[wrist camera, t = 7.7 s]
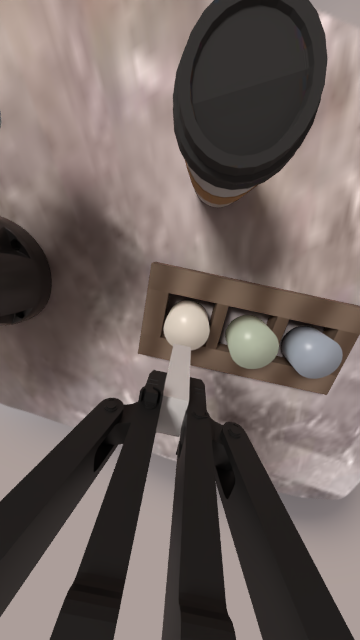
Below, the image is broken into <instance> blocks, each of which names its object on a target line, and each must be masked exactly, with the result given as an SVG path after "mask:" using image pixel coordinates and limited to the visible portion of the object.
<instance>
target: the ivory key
mask: <svg viewBox="0 0 360 640" xmlns="http://www.w3.org/2000/svg"><path fill="white" fill-rule="evenodd" d="M209 332H210V328H209V321H208V316H207V312H206V310H205V309H204V307H203V306H202V305H200V304H199V303H197V302H195V301H192V300H184V301H180V302H178V303H176V304H175V305H174V306H173V307H172V308H171V310H170V312H169V314H168V316H167V319H166V321H165V324H164V335H165V337H166V339H167V341H168V342H169V343H170V344H171V345H172V346H173V344H179V345H184V346H188V347H191V351H192V350H195V349H198V348H199V347H201V346H202V345H203V344H204V343H205V342H206V341H207V339H208V336H209Z"/></svg>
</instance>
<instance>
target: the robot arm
mask: <svg viewBox="0 0 360 640" xmlns="http://www.w3.org/2000/svg"><path fill="white" fill-rule="evenodd" d="M0 127H1V113H0ZM50 292H51V274H50V269H49V265H48V262H47V260H46V258H45V255H44V254H43V252H42V250H41V248H40V247H39V245H38V244H37V243H36V241H35V240H34V239H33V238H32V237H31V236H30V235H29V234H28V233H27V232H26V231H25V230H24V229H23V228H21V227H20V226H19V225H17V224H16V223H14V222H12V221H10V220H8V219H6V218H3V217H0V326H1V325H12V324H16V323H19V322H22V321H24V320H27V319H29V318H32V317H34V316H35V315H37V314H38V313H39V312H40V311H41V310H42V309H43V308H44V307H45V305H46V303H47V301H48V299H49V296H50ZM190 359H191V347H188V346H184V345H179V344H173V349H172V354H171V358H170V363H169V368H168V372H167V373H165V372H160V371H156V370H154V371H152V372H151V373H150V374H149V377H148V380H147V383H146V386H144V387H143V388H142V389H141V390H140V395H139V401H138V402H136V403H134V404H129V405H123V403H122V401H120V400H119V399H116V398H108V399H105V400H103V401H102V402H100V403H99V404H98V405H97V406H96V407H95V408H94V409H93V410H92V411H91V412H90V413H89V414H88V415H87V416H86V417H85V418H84V419H83V420H82V421H81V422H80V423H79V424H78V425H77V426H76V427H75V428H74V429H73V430H72V431H71V432H70V433H69V434H68V435H67V436H66V437H65V438H64V439H63V440H62V441H61V442H60V443H59V444H58V445H57V446H56V447H55V448H54V449H53V450H52V451H51V452H50V453H49V454H48V455H47V456H46V457H45V458H44V459H43V460H42V461H41V462H40V463H39V464H38V465H37V466H36V467H35V468H34V469H33V470H32V471H31V472H30V473H29V474H28V475H27V476H26V477H25V478H24V479H23V480H21V481H20V482H19V484H17V485H16V487H14V489H12V490H11V491H10V492H9V493H8V494H7V495H6V496H5V497H4V498H3V499H2V500H1V501H0V617H1V615H2V614H3V612H4V611H5V609H6V608H7V606H8V605H9V604H10V602H11V601H12V599H13V598H14V596H15V595H16V593H17V592H18V590H19V589H20V587H21V586H22V584H23V583H24V582H25V580H26V579H27V577H28V576H29V574H30V573H31V571H32V570H33V568H34V567H35V566H36V564H37V563H38V561H39V560H40V558H41V557H42V555H43V554H44V552H45V551H46V550H47V548H48V547H49V545H50V544H51V542H52V541H53V539H54V538H55V536H56V535H57V533H58V532H59V531H60V529H61V527H62V526H63V525H64V523H65V522H66V520H67V519H68V517H69V516H70V515H71V513H72V512H73V510H74V509H75V507H76V506H77V504H78V503H79V501H80V500H81V499H82V497H83V496H84V494H85V493H86V491H87V490H88V488H89V487H90V485H91V484H92V482H93V481H94V479H95V478H96V477H97V475H98V474H99V472H100V471H101V469H102V468H103V466H104V465H105V463H106V462H107V461H108V459H109V457H110V456H111V455H112V453H113V452H114V450H115V449H116V447H117V446H118V444H123V446H122V449H121V452H120V455H119V458H118V460H117V463H116V466H115V469H114V472H113V474H112V477H111V480H110V483H109V486H108V489H107V491H106V494H105V497H104V500H103V503H102V505H101V508H100V511H99V514H98V517H97V519H96V522H95V525H94V528H93V531H92V533H91V536H90V539H89V542H88V545H87V547H86V550H85V553H84V556H83V559H82V562H81V564H80V567H79V570H78V572H77V575H76V578H75V580H74V582H73V584H72V586H71V587H70V589H69V591H68V593H67V596H66V598H65V600H64V603H63V605H62V608H61V610H60V613H59V616H58V618H57V621H56V624H55V626H54V630H53V632H52V635H51V637H50V640H113V639H114V634H115V628H116V624H117V619H118V614H119V609H120V604H121V599H122V594H123V589H124V584H125V579H126V574H127V570H128V565H129V560H130V555H131V550H132V545H133V540H134V536H135V531H136V526H137V521H138V516H139V511H140V506H141V501H142V496H143V491H144V486H145V482H146V477H147V472H148V467H149V462H150V458H151V453H152V448H153V443H154V438H155V433H156V432H158V433H163V434H167V435H172V436H177V437H179V436H180V441H179V444H178V448H177V452H176V455H177V466H176V478H175V490H174V501H173V513H172V525H171V537H170V549H169V560H168V573H167V584H166V595H165V608H164V620H163V631H162V640H236V636H235V631H234V627H233V623H232V621H231V619H230V617H229V615H228V612H227V609H226V599H225V588H224V576H223V564H222V553H221V541H220V529H219V518H218V507H217V495H216V484H217V488H218V491H219V494H220V498H221V501H222V504H223V508H224V511H225V514H226V518H227V521H228V524H229V528H230V531H231V535H232V538H233V541H234V545H235V548H236V551H237V554H238V558H239V561H240V565H241V568H242V571H243V575H244V578H245V581H246V585H247V588H248V592H249V595H250V598H251V601H252V604H253V608H254V612H255V615H256V618H257V622H258V625H259V628H260V632H261V635H262V638H263V640H354V638H353V636H352V634H351V632H350V630H349V628H348V627H347V625H346V623H345V621H344V619H343V617H342V615H341V613H340V611H339V610H338V607H337V606H336V604H335V602H334V600H333V598H332V596H331V594H330V592H329V591H328V588H327V587H326V585H325V583H324V581H323V579H322V577H321V575H320V573H319V571H318V569H317V567H316V566H315V564H314V562H313V560H312V558H311V556H310V554H309V552H308V550H307V548H306V547H305V545H304V543H303V541H302V539H301V537H300V535H299V533H298V531H297V530H296V528H295V526H294V524H293V522H292V520H291V518H290V516H289V514H288V512H287V511H286V509H285V506H284V505H283V503H282V501H281V499H280V497H279V495H278V493H277V491H276V489H275V487H274V485H273V484H272V482H271V480H270V478H269V476H268V474H267V472H266V470H265V468H264V466H263V464H262V463H261V461H260V459H259V457H258V455H257V453H256V451H255V449H254V447H253V445H252V444H251V442H250V440H249V438H248V436H247V434H246V432H245V431H244V429H243V428H242V427H241V426H239V425H238V424H236V423H233V422H226V423H225V424H224V425H221V424H219V423H217V422H215V421H213V420H212V419H211V418H210V416H209V413H208V412H207V410H206V396H205V385H204V383H203V381H202V380H200V379H196V378H191V377H190ZM215 481H216V483H215Z"/></svg>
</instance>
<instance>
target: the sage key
mask: <svg viewBox="0 0 360 640" xmlns="http://www.w3.org/2000/svg"><path fill="white" fill-rule="evenodd" d="M225 338H226V342H227V345H228V348H229V351H230V355H231V357H232V359H233V360H234V362H235V363H237V364H238V365H239V366H241V367H244V368H247V369H258V368H262V367H264V366H266V365H268V364H269V363H271V362H272V361H273V360H274V358H275V357H276V355H277V353H278V349H279V342H278V339H277V337H276V335H275V334H274V333H273V332H272V331H271V330H270V328H269V327H268V326H267V325H266V324H265V323H264V322H263V321H262V320H261V319H260V318H258V317H256V316H252V315H243V316H240V317H237V318H236V319H234V320H233V321H232V322H231V323H230V324H229V325H228V327H227V329H226V333H225Z"/></svg>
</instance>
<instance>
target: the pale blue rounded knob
mask: <svg viewBox="0 0 360 640" xmlns="http://www.w3.org/2000/svg"><path fill="white" fill-rule="evenodd" d="M281 351H282V353H283V355H284V356H285V357H286V359H287V360H288V361H289V362H290V364H291V365H292V366H293V367H294V369H295V370H296V371H297V372H298V373H299V374H300V375H302V376H304V377H306V378H311V379H317V378H322V377H325V376H328V375H330V374H331V373H333V372H334V371H335V370H336V369H337V368H338V367H339V365H340V363H341V361H342V356H343V354H342V349H341V347H340V346H339V344H338V343H336V342H335V341H334V340H332V339H331V338H329V337H328V336H326V335H325V334H323V333H322V332H320V331H319V330H317V329H316V328H314V327H311V326H298V327H295V328H293V329H291V330H290V331H289V332H287V333H286V335H285V336H284V337H283V339H282V342H281Z"/></svg>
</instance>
